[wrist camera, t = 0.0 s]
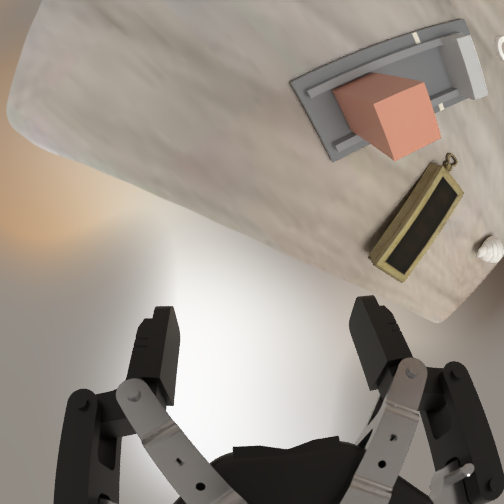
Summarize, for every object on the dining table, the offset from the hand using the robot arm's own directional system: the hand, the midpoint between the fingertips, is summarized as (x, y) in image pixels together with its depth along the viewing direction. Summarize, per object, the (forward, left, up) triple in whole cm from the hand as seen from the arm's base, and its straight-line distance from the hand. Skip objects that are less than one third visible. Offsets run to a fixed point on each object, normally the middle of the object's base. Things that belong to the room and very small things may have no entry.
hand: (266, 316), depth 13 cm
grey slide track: (-10, +22, -29) cm, 38 cm away
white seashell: (+18, +49, -30) cm, 60 cm away
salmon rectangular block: (-6, +15, -28) cm, 32 cm away
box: (+10, +28, -30) cm, 42 cm away
